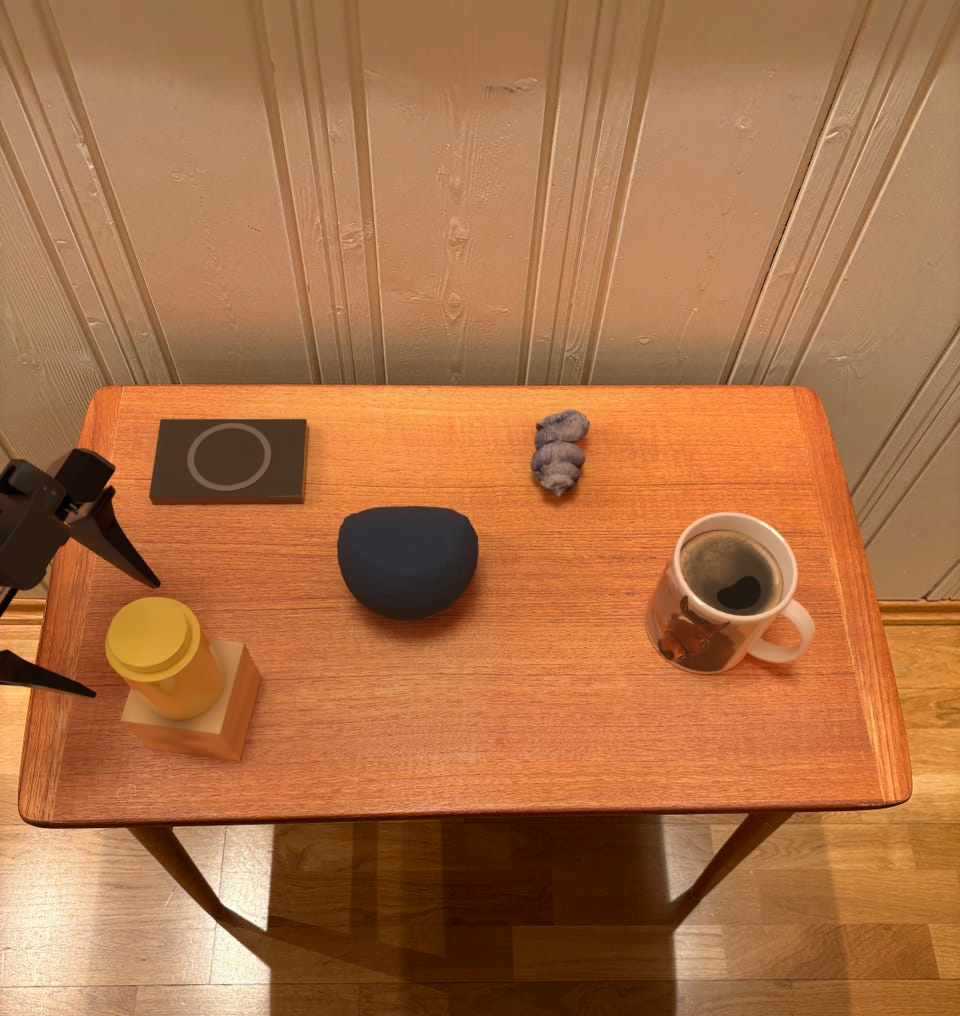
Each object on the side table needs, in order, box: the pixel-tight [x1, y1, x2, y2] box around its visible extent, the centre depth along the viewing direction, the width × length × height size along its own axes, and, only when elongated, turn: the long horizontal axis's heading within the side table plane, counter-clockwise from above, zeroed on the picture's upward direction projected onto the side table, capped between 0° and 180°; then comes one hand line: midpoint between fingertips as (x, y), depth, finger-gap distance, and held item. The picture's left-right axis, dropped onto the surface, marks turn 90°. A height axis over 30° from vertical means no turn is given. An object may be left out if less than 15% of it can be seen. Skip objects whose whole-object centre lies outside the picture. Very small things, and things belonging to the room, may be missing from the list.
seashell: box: [530, 408, 591, 498], centre depth 83 cm, size 5×5×10 cm
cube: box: [120, 637, 262, 762], centre depth 70 cm, size 8×8×7 cm
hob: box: [148, 418, 309, 505], centre depth 83 cm, size 14×9×1 cm, turn 92°
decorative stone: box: [336, 505, 480, 623], centre depth 74 cm, size 12×12×10 cm
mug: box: [644, 511, 816, 675], centre depth 73 cm, size 10×12×11 cm
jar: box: [104, 596, 226, 720], centre depth 62 cm, size 6×6×9 cm
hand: (127, 639), depth 62 cm, fingers open, 9 cm apart
